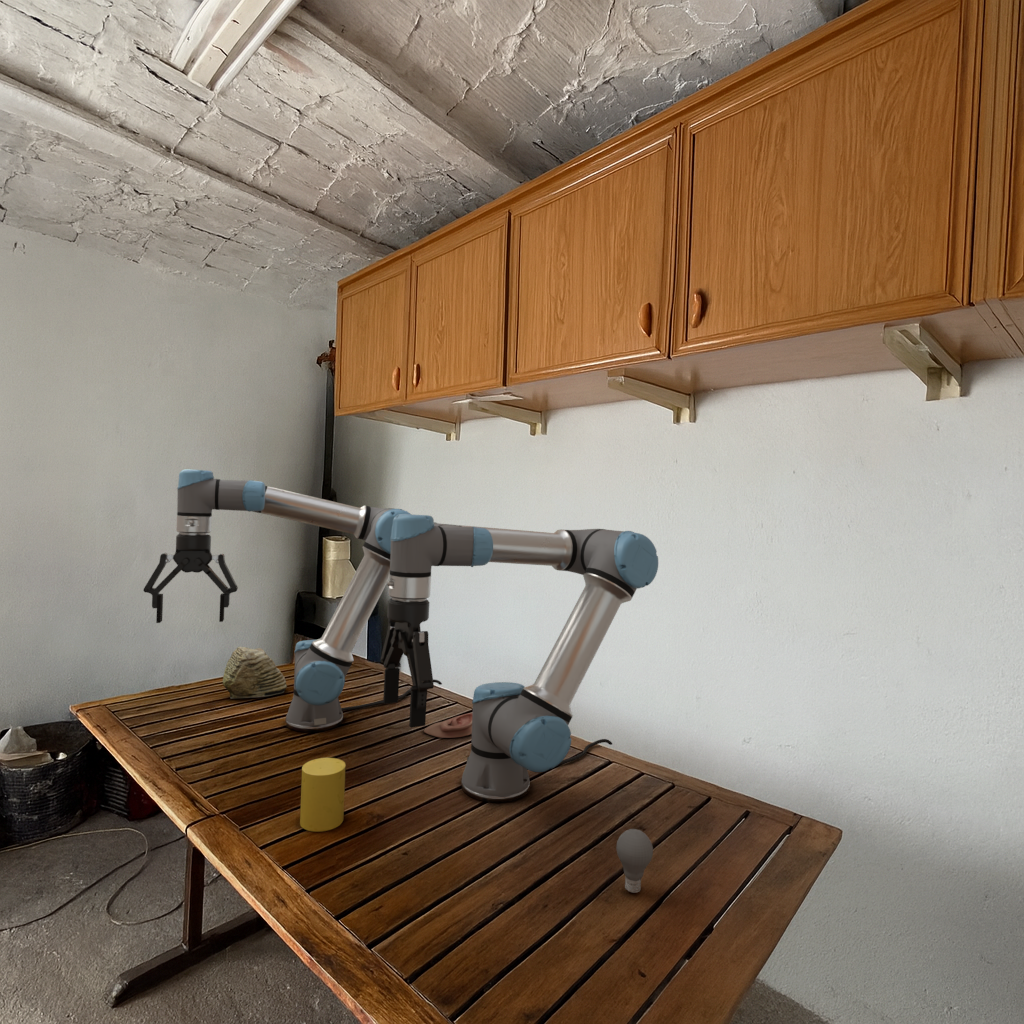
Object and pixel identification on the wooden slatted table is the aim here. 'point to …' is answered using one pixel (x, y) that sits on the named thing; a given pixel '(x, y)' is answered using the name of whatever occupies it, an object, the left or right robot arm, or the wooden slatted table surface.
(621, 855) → the light bulb
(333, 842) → the wooden slatted table surface
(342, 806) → the canister
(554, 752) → the right robot arm
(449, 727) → the anatomical model
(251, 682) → the fossil
